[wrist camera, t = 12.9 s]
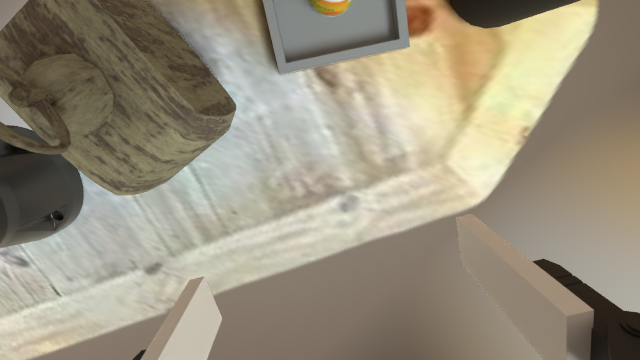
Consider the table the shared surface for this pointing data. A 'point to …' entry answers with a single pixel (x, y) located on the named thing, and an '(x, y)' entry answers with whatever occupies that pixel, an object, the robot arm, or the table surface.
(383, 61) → the table surface
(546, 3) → the coffee jar
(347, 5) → the supplement bottle
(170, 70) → the tabletop clock
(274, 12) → the tray
